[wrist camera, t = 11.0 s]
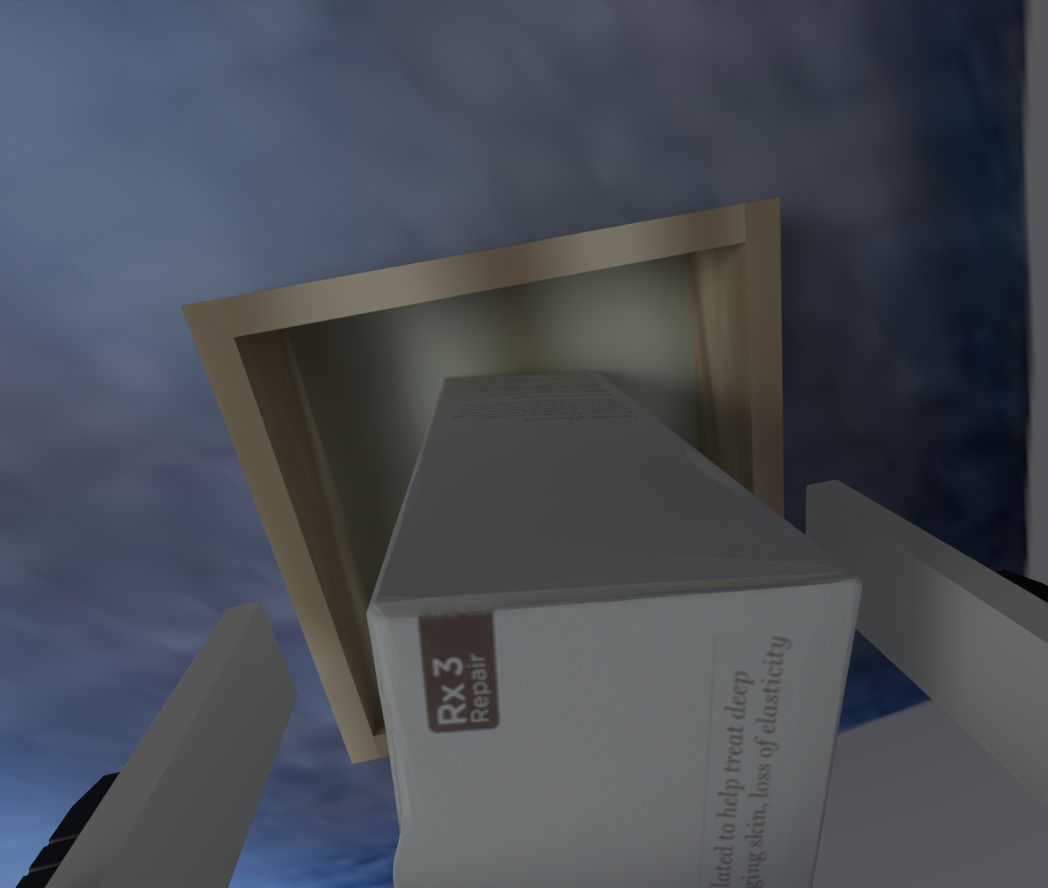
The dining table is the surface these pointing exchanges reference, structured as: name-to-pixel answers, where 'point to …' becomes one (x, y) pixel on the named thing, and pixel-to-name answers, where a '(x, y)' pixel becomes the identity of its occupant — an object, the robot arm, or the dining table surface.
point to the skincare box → (601, 654)
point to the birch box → (475, 351)
